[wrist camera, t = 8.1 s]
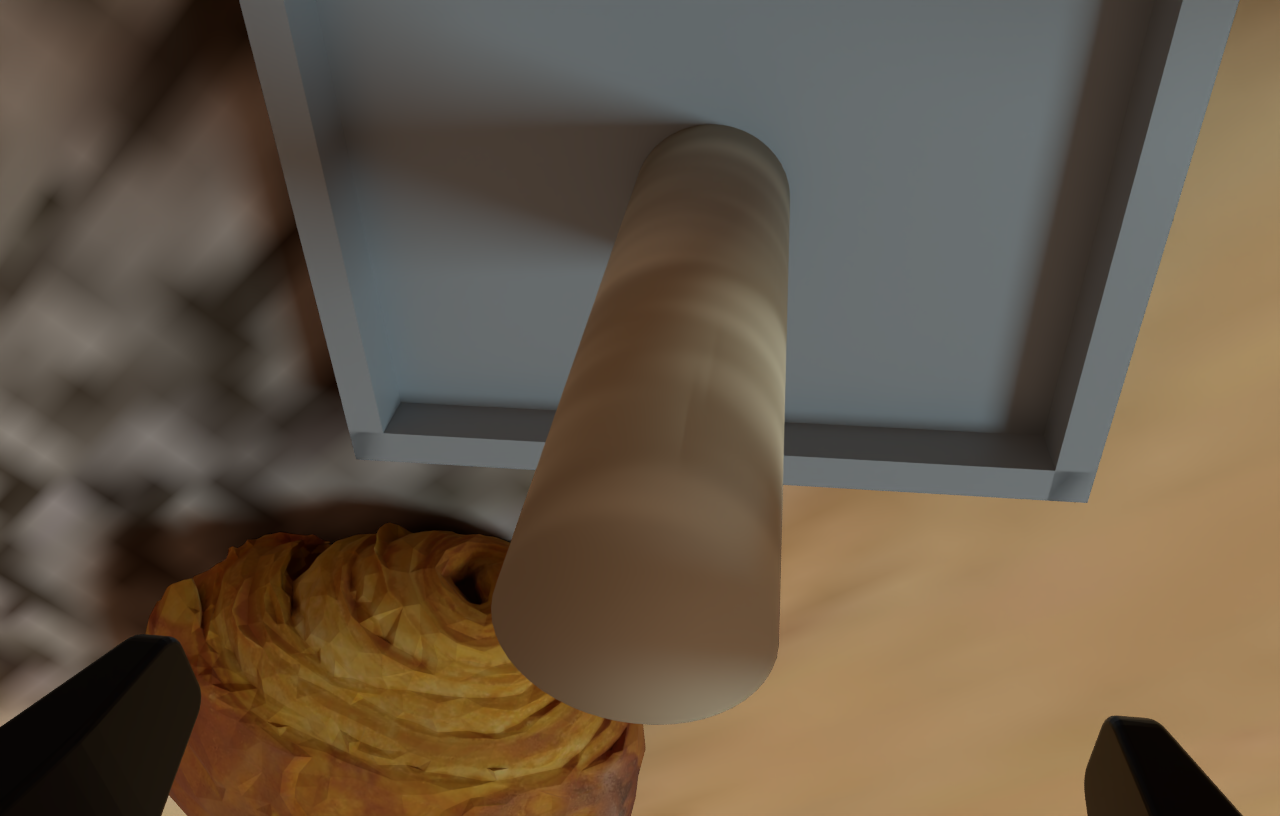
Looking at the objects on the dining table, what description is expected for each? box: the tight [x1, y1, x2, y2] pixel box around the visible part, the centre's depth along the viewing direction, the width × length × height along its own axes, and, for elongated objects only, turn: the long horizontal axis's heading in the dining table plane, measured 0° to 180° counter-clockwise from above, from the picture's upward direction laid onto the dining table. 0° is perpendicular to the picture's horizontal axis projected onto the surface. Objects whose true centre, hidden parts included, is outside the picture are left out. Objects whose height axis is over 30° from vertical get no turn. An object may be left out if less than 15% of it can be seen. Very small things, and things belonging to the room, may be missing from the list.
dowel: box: [491, 124, 790, 725], centre depth 15 cm, size 3×3×11 cm
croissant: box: [146, 523, 645, 816], centre depth 28 cm, size 14×16×8 cm
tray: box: [239, 0, 1239, 503], centre depth 19 cm, size 16×12×2 cm
